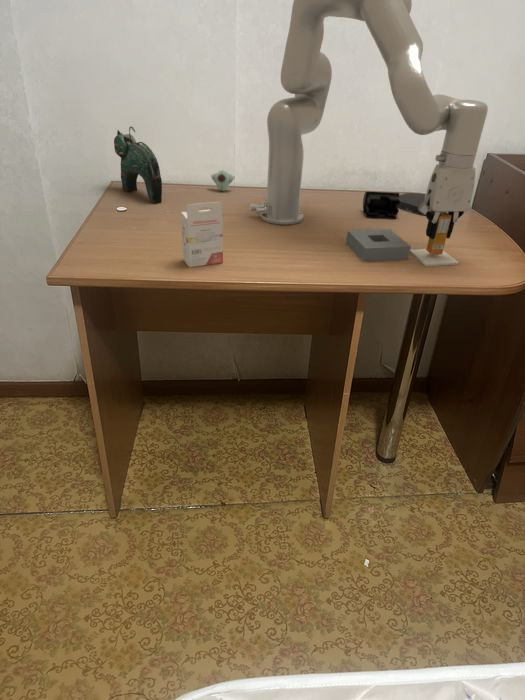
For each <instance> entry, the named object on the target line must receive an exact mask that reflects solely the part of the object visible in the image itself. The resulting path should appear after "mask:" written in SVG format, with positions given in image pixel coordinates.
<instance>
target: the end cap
mask: <svg viewBox="0 0 525 700" xmlns="http://www.w3.org/2000/svg"><path fill="white" fill-rule="evenodd" d="M399 195H400V193H399V192H386V191H385V192H384V191H369V190H367V191H365V192H364V194H363V200H362V211H363V212H364V216H365V217H366V218H367V219H378V220H379V219H380V220H397V219H398V218H397V215H399V211H400V210H399V208H397V205H400V200H399Z"/></svg>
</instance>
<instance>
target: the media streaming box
mask: <svg viewBox="0 0 525 700" xmlns="http://www.w3.org/2000/svg"><path fill="white" fill-rule="evenodd" d="M425 195H426V193H420V192H419V193H417V192H416V193H415V192H407V193H406V192H405V193H402V194H399V200H400V205H397V208H398V210H399V209H400V210H403V211H406V212H410V213H413V214H417V215H420V216H423V217H426V216H425V214H423V213H422V212H421V211H419V210H418V208H419V206H420V205H421V204H422V202H423V201H424V200H425ZM427 210H430V207H427Z"/></svg>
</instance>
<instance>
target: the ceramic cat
mask: <svg viewBox="0 0 525 700" xmlns="http://www.w3.org/2000/svg"><path fill="white" fill-rule="evenodd" d="M131 129H132V131H133V132H134V133H136V129H135V128H134V127H133V126H129V129H128V133H127V134H126V133H125V134H123V133H121V131H120V130H119V129H117V132H116V134H117V135H115V137H114V139H113V146H114V147H113V148H114V152H115V154H116V155H117V156H119V157H120V179H121V188H122V191H123V192H126V193H133V192H137V191H138V186H137V185H138V184H137V183H138V181H137V179H138V177H139V176H140V177H141V178H142V181H143V182H144V185H145V189H146V193H147V194H146V195H147V198H148V202H149V203H150V204H154V205H156V204H161V203H162V200H163V198H162V195H163V180H162V177H161V170H160V166H159V162H158V159H157V156H156V155H155V153H154V151H153V150H152V148H150V147H149V146H148V145H147V144H146V143H145V142H143V141H138V142H137V141H136V139H135V137H134V136H133V135H132V134H131Z"/></svg>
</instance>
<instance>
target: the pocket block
mask: <svg viewBox="0 0 525 700" xmlns="http://www.w3.org/2000/svg"><path fill="white" fill-rule="evenodd" d="M345 244H346V245H347V246H348V248H350V249H351V250H352V252H354V253H355V255H356V256H357V257H358V258H359V259H360V260H361V261H362V263H363V262H364V263H365V262H387V261H388V262H389V261H401V260H402V261H404V260H409V256H410V253H409V252H410V250H411V248H412V247H411V245H410V244H409V243H408V242H406V241H405V240H404V239H402V237H400V236H399V235H398V234H397V233H396V232H395V231H393V230H392V229H390V228H383V229H382V228H381V229H379V228H378V229H361V230H360V229H357V230H356V229H355V230H347V234H346V240H345Z"/></svg>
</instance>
